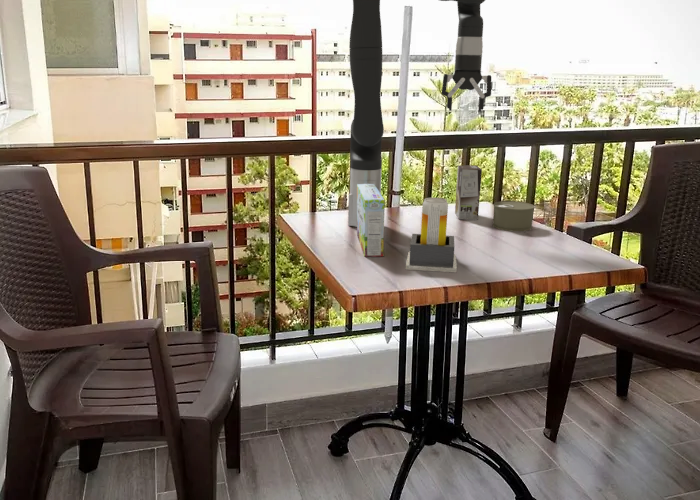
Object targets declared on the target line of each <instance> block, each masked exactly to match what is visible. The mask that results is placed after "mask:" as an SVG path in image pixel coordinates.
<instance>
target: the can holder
mask: <svg viewBox="0 0 700 500" xmlns="http://www.w3.org/2000/svg"><path fill="white" fill-rule="evenodd" d="M420 241H421V233H412V236H411V240H410V245H409V251H408V254H407V259H406V262H405V270H410V271H426V272H444V273H457V270H458V269H457V268H458V267H457V254H456V253H455V236H454V235H446V242H445V245H433V244H420Z"/></svg>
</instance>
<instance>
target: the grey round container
mask: <svg viewBox="0 0 700 500" xmlns="http://www.w3.org/2000/svg"><path fill="white" fill-rule="evenodd" d="M534 211H535V205H534V204H531V203H528V202H523V201H519V200H518V201H516V200H501V201H496V202H494V203H493V218H492V227H493V228H494V229H498V230H501V231H506V232H507V231H508V232H520V233H521V232H529V231H531V230H532V228H533V219H534V218H533V217H534Z"/></svg>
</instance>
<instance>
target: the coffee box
mask: <svg viewBox="0 0 700 500" xmlns="http://www.w3.org/2000/svg"><path fill="white" fill-rule="evenodd" d="M456 173H457V174H456V176H457V177H456V191H455V207H454V209H455V210H454V214H455V215H456V217H457V218H458V220H471V221H473V220H474V221H477V220H478V219H479V210H480V196H481V187H482V173H483V169H482V168H481V167H479V166H478V165H474V164H473V165H470V164H469V165H467V164H466V165H459V164H458V165H457V172H456Z"/></svg>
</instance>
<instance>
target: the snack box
mask: <svg viewBox="0 0 700 500" xmlns="http://www.w3.org/2000/svg"><path fill="white" fill-rule="evenodd" d="M385 201H386V200H385V199H384V197H383V196H382V193H381V194H380V192H379V191H378V189H377V188H376V186H375V184H357V227H356V236H357V238H358V242H359V245H360V248H361V251H362V254H363V256H364V258H367V257H384V256H385V255H384V254H385V253H384V250H385V249H384V244H385V210H386V209H385V205H386V204H385V203H386V202H385Z"/></svg>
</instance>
